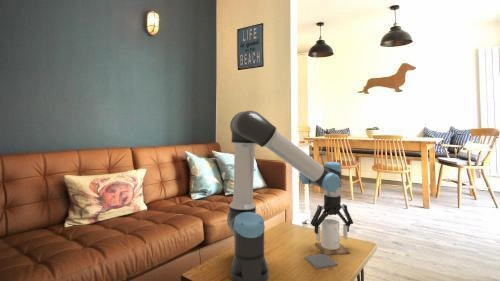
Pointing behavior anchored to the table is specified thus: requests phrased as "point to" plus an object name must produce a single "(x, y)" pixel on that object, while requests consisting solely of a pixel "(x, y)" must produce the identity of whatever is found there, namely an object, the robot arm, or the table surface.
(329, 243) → the mug
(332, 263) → the slate coaster
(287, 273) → the table surface
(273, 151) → the robot arm
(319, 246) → the walnut coaster
